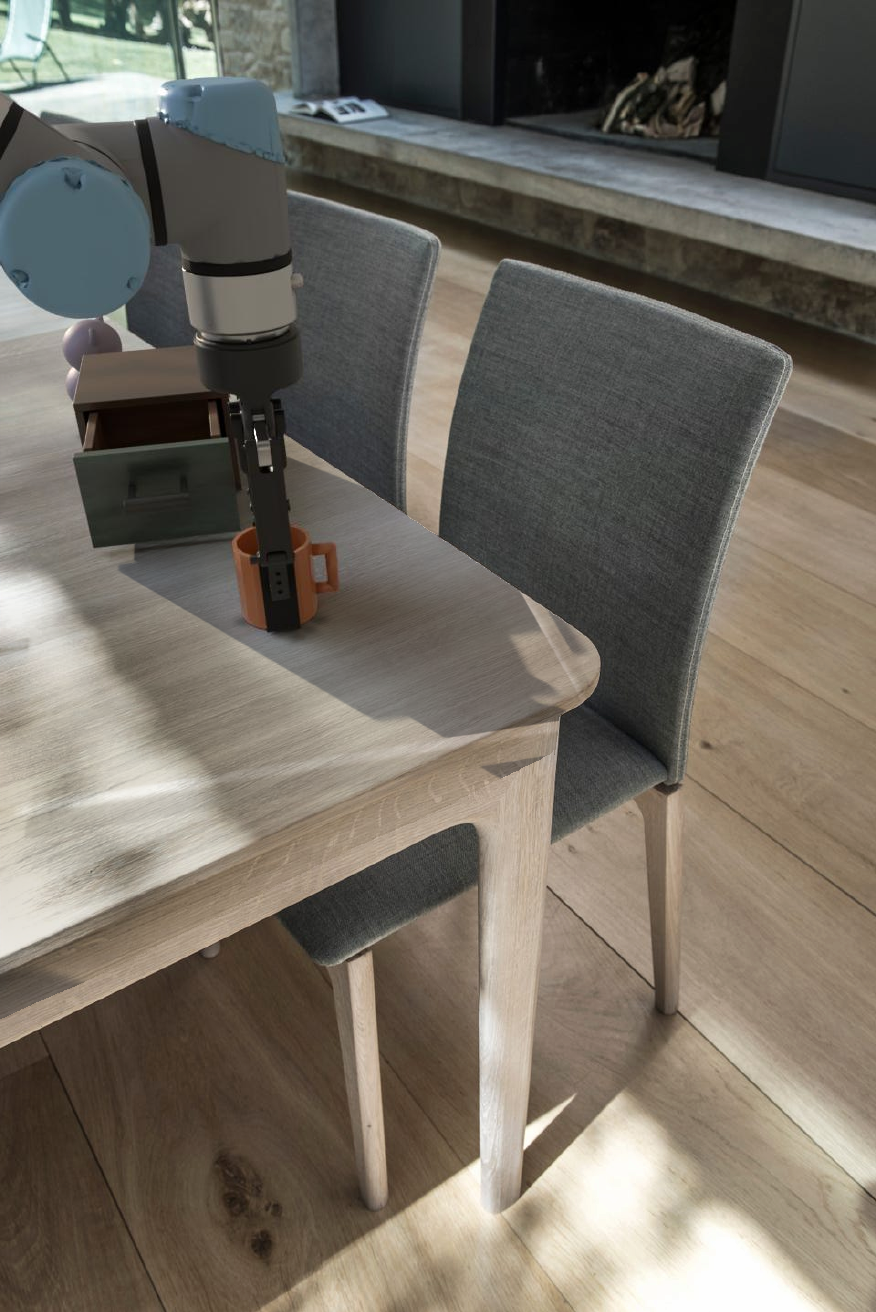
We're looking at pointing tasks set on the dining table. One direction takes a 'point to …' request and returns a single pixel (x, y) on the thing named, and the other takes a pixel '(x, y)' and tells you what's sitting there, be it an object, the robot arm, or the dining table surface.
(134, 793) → the dining table surface
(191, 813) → the dining table surface
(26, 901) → the dining table surface
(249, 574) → the mug
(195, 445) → the drawer
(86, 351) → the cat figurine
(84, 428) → the cabinet
